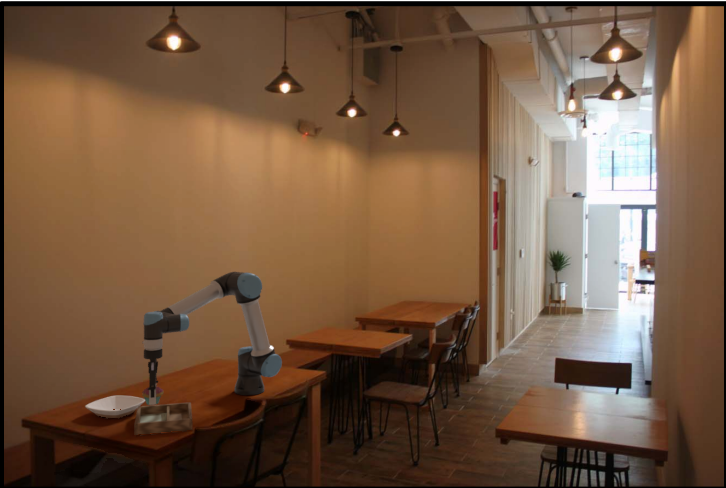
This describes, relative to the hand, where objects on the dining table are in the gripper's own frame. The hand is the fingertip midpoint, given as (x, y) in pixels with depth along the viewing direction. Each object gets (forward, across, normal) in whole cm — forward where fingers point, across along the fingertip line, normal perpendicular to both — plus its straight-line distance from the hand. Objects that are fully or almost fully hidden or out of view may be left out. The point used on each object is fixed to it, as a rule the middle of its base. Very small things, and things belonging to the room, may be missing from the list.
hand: (152, 401), depth 248 cm
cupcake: (+1, 0, 0) cm, 1 cm away
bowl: (+10, -20, -16) cm, 28 cm away
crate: (+10, 0, +5) cm, 11 cm away
